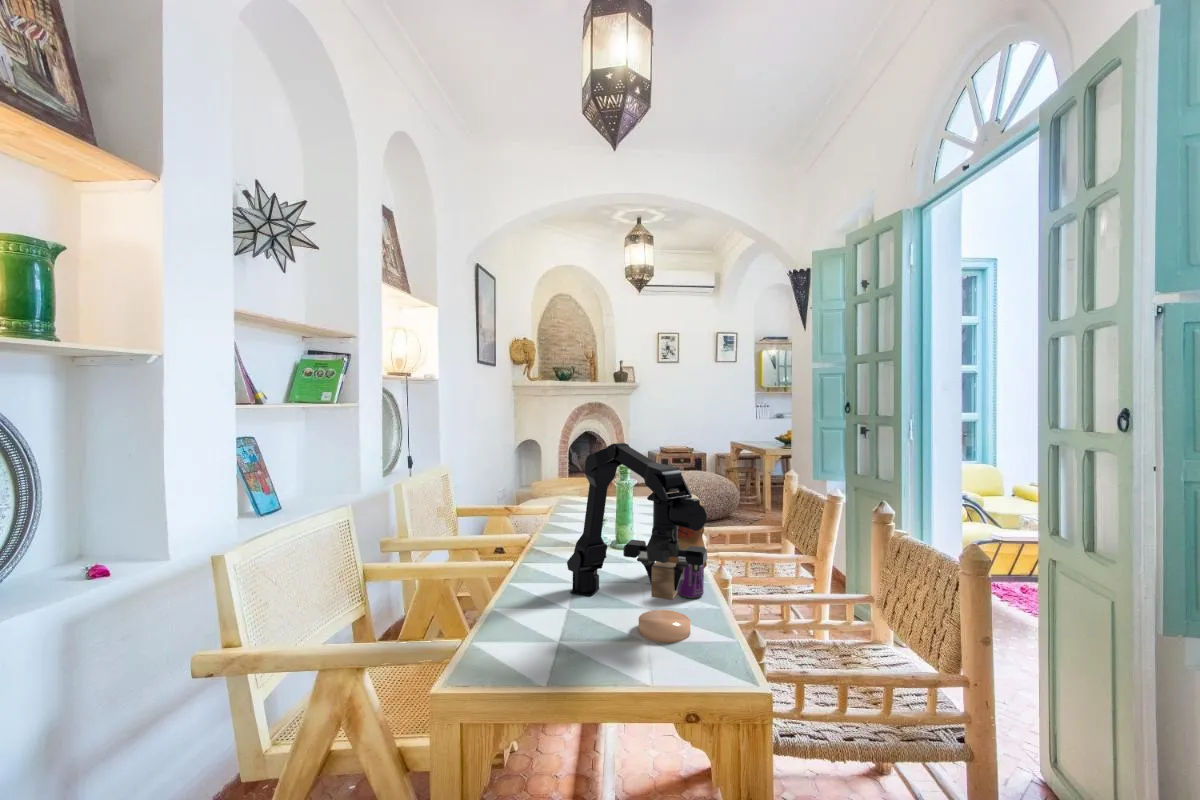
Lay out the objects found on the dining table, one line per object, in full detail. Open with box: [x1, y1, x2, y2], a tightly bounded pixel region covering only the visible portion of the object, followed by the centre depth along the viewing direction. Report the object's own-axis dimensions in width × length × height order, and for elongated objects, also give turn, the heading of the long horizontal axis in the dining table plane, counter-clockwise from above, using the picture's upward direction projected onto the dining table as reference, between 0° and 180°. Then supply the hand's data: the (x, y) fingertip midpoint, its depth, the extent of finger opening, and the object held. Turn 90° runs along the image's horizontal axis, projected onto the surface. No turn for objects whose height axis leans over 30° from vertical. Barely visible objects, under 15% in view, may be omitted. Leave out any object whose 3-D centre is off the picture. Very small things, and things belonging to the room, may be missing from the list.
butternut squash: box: [668, 493, 708, 569], centre depth 173 cm, size 14×13×25 cm
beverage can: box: [677, 549, 705, 599], centre depth 158 cm, size 7×7×12 cm
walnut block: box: [650, 561, 678, 601], centre depth 134 cm, size 5×5×7 cm
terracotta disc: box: [638, 609, 691, 644], centre depth 134 cm, size 12×12×3 cm
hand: (664, 588), depth 134 cm, fingers closed on walnut block, 5 cm apart
